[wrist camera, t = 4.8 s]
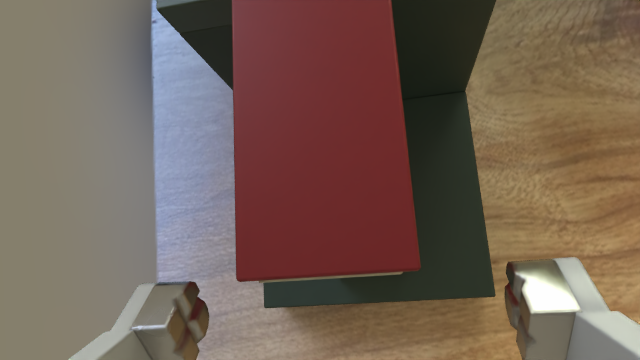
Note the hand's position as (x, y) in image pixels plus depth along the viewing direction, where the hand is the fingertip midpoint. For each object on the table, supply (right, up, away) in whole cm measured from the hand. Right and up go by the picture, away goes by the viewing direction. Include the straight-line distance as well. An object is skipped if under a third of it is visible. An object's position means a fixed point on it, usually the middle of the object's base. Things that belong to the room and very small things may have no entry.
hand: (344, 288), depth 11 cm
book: (+2, +2, +12) cm, 12 cm away
